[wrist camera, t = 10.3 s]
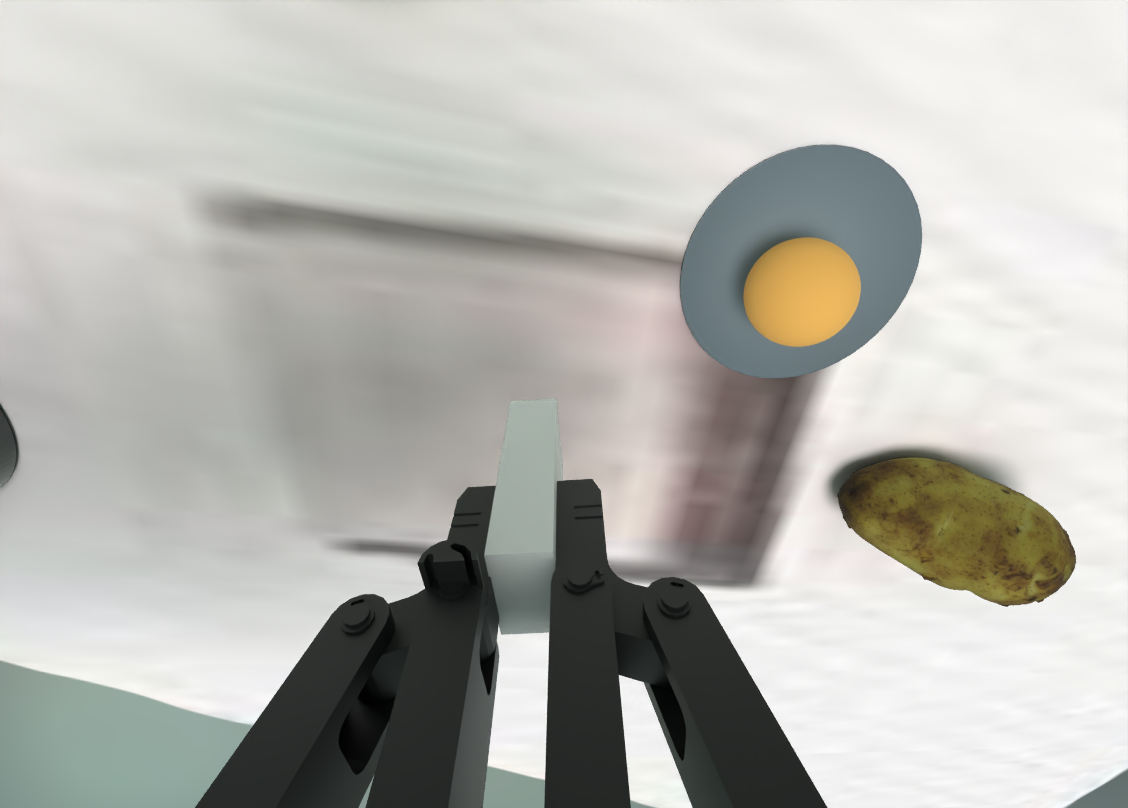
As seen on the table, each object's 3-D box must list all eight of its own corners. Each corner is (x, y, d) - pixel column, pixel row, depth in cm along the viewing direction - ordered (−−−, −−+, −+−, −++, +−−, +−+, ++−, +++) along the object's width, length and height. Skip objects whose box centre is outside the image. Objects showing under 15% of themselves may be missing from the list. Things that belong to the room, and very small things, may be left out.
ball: (765, 329, 32) (740, 366, 28) (751, 237, 30) (721, 265, 26) (870, 318, 28) (858, 360, 24) (862, 215, 26) (847, 242, 22)
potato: (907, 403, 34) (995, 483, 27) (1026, 487, 37) (1130, 576, 30) (811, 487, 37) (866, 577, 30) (928, 556, 41) (1001, 651, 34)
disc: (705, 401, 34) (705, 403, 33) (655, 198, 27) (655, 198, 27) (919, 339, 31) (921, 341, 31) (919, 103, 25) (922, 103, 25)
